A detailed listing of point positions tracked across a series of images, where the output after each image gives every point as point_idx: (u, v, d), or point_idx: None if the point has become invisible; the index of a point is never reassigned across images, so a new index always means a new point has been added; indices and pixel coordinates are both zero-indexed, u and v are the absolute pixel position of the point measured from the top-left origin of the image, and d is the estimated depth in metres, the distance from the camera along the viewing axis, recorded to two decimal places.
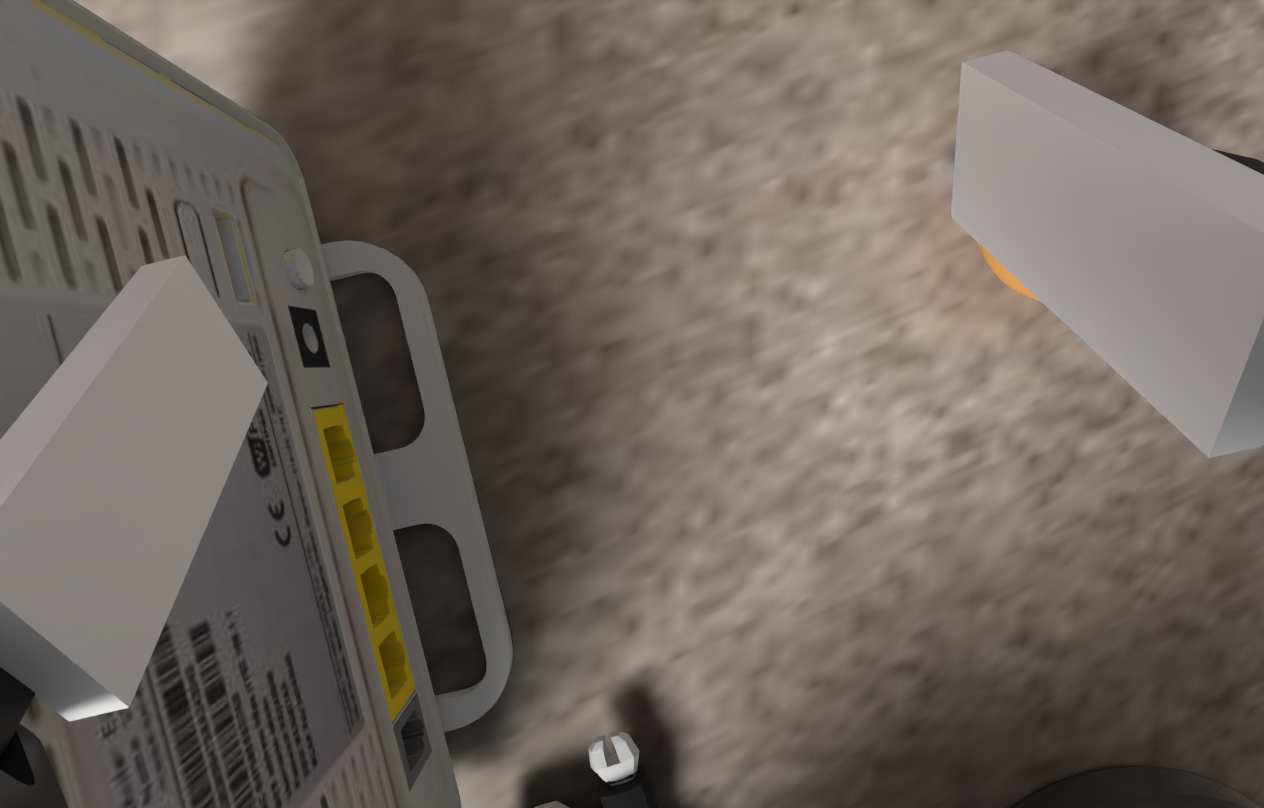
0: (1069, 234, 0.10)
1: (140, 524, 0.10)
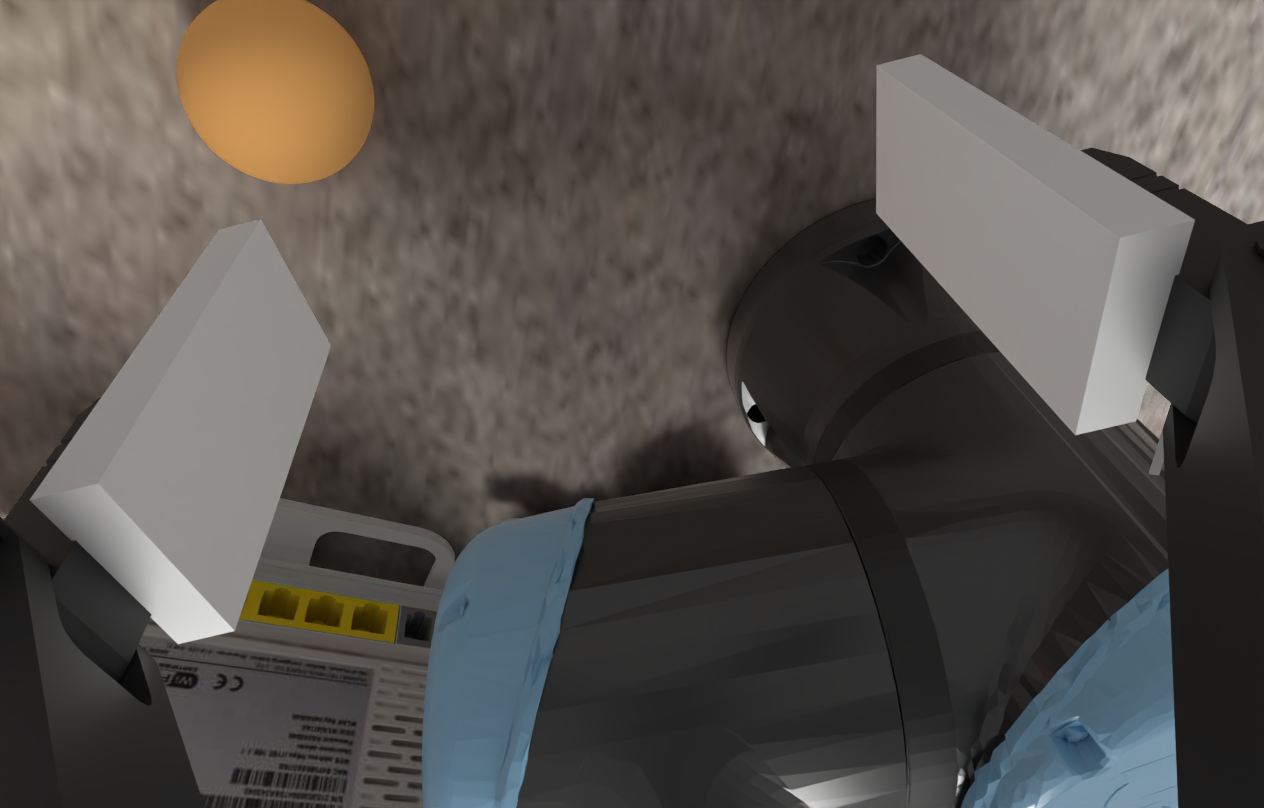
0: (964, 227, 0.11)
1: (236, 464, 0.10)
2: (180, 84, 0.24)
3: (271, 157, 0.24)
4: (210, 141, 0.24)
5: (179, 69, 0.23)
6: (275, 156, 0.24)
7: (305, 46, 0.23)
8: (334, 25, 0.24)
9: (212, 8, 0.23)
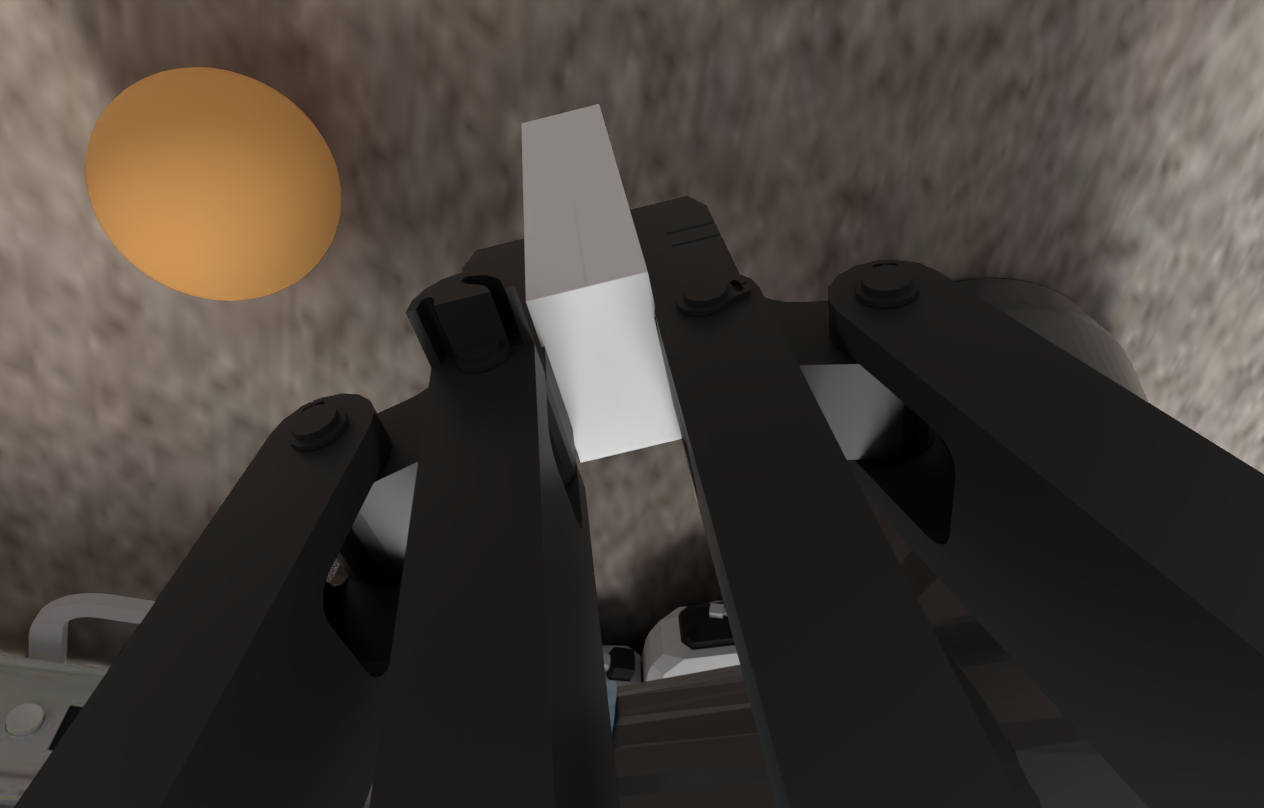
0: None
1: None
2: (88, 190, 0.19)
3: (206, 278, 0.19)
4: (129, 258, 0.19)
5: (86, 171, 0.18)
6: (211, 277, 0.19)
7: (246, 142, 0.18)
8: (286, 109, 0.19)
9: (127, 95, 0.18)
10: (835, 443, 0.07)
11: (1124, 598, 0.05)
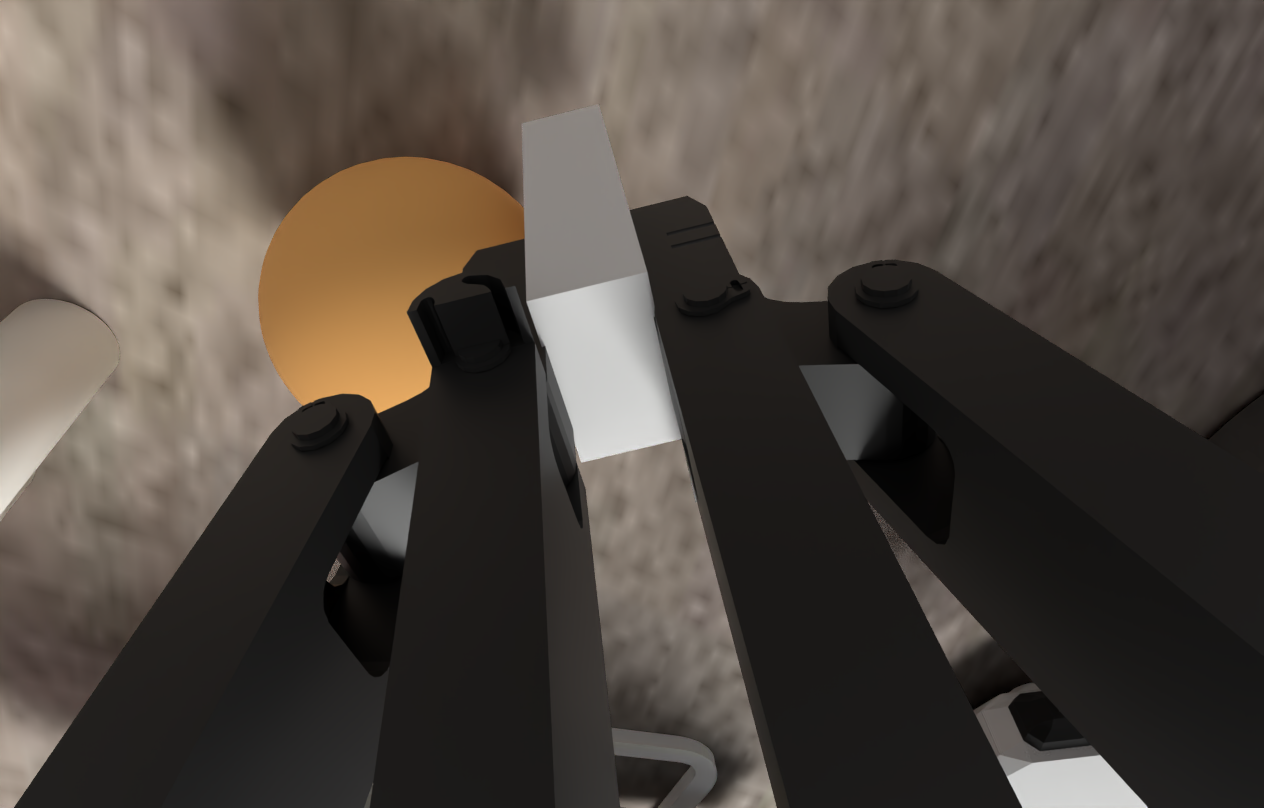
0: None
1: None
2: None
3: None
4: None
5: None
6: None
7: (277, 333, 0.14)
8: (356, 323, 0.13)
9: None
10: (834, 443, 0.07)
11: (1124, 598, 0.05)
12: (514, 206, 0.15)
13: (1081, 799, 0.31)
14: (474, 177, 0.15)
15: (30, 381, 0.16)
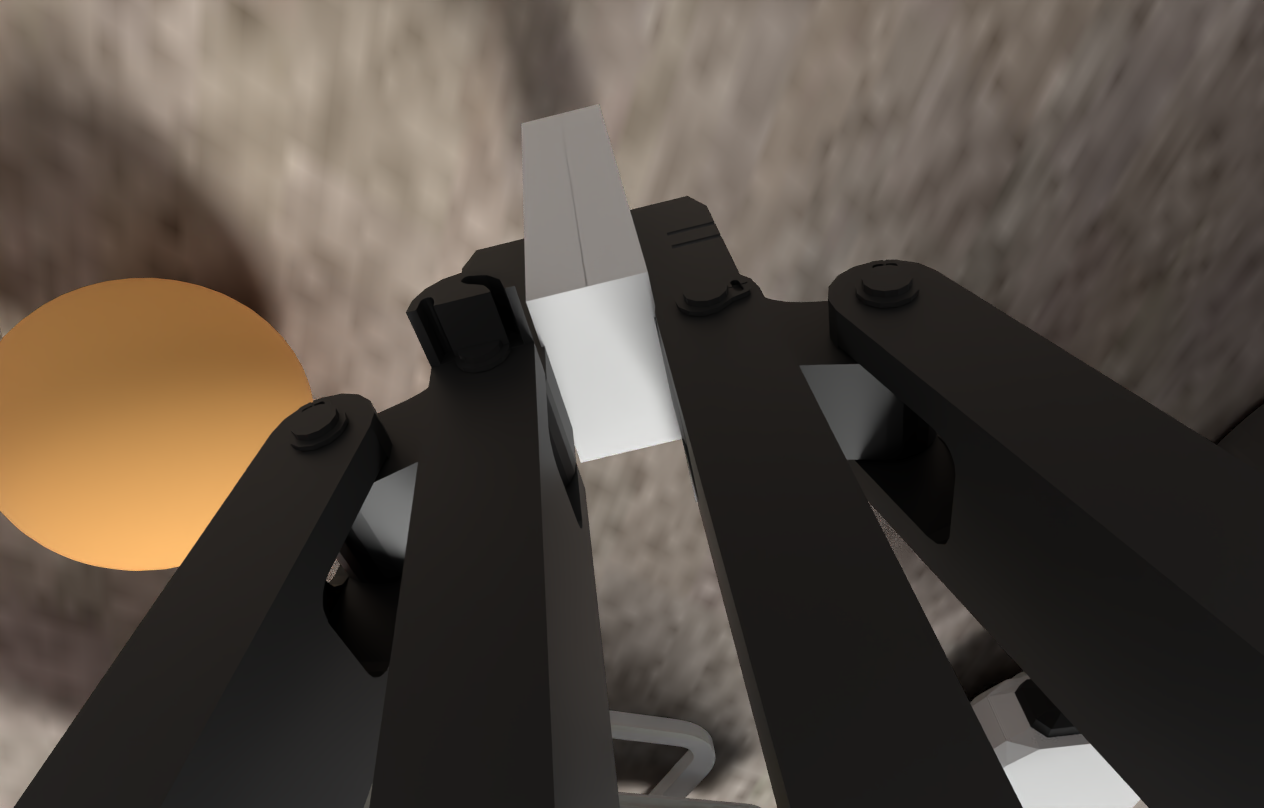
0: None
1: None
2: (195, 378, 0.14)
3: None
4: (282, 380, 0.15)
5: (167, 375, 0.13)
6: None
7: None
8: None
9: (39, 349, 0.13)
10: (834, 443, 0.07)
11: (1124, 598, 0.05)
12: (17, 527, 0.14)
13: (1082, 786, 0.31)
14: None
15: None
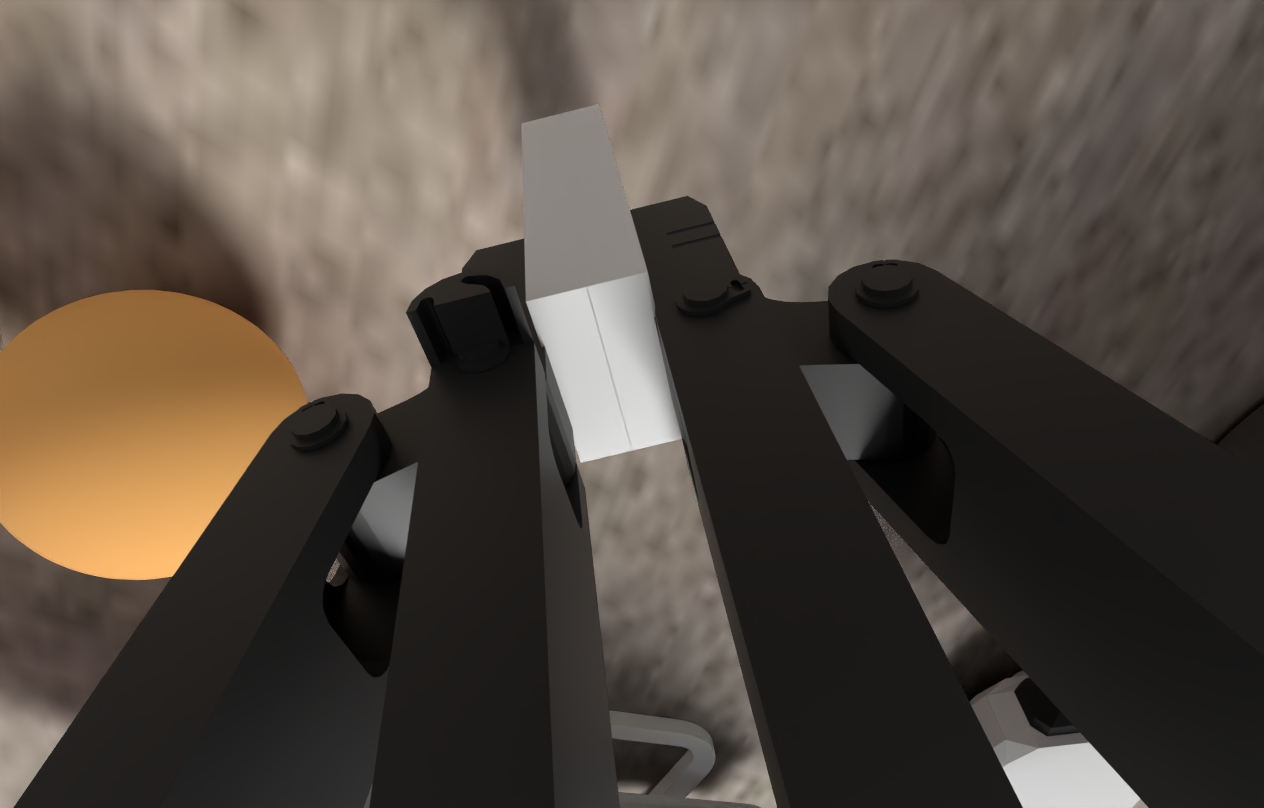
0: None
1: None
2: (185, 405, 0.14)
3: None
4: (275, 399, 0.15)
5: (157, 403, 0.13)
6: None
7: None
8: None
9: (31, 374, 0.13)
10: (834, 443, 0.07)
11: (1124, 598, 0.05)
12: None
13: (1083, 784, 0.31)
14: None
15: None
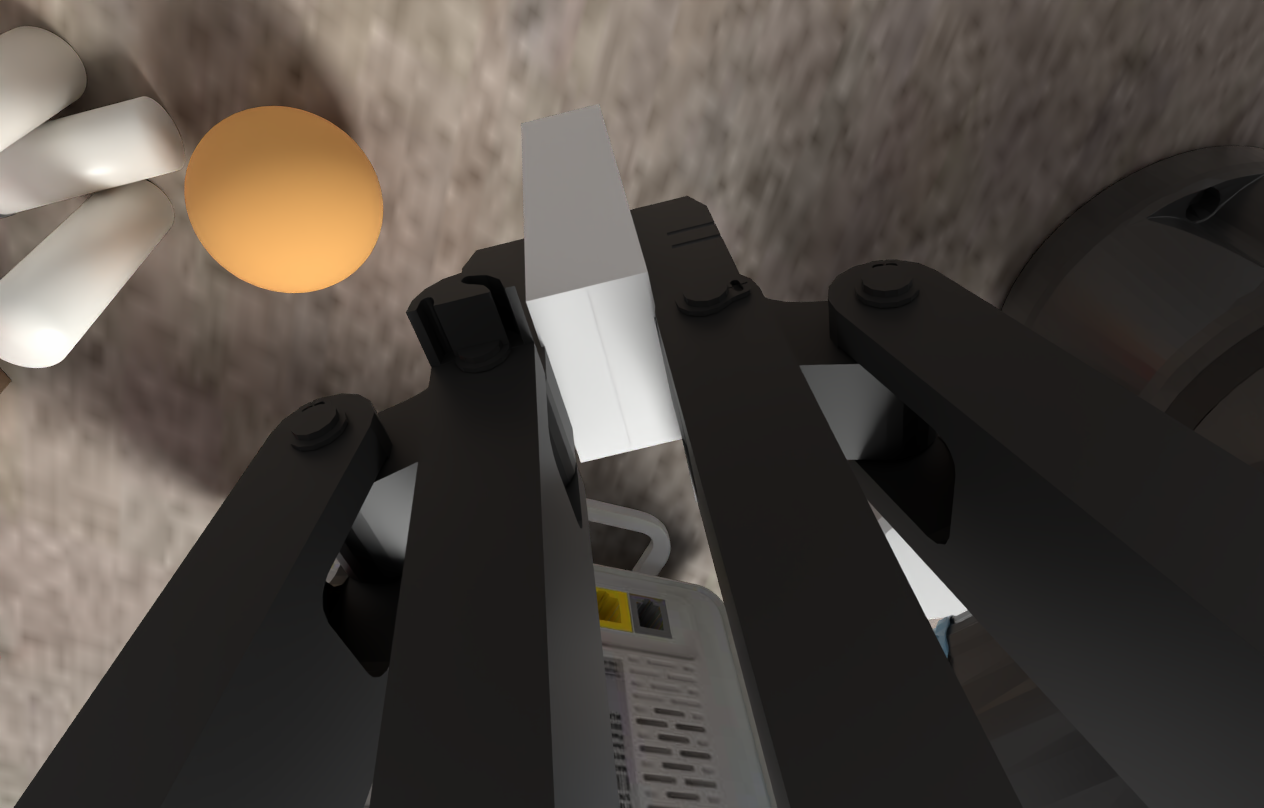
0: None
1: None
2: (318, 163, 0.23)
3: None
4: (365, 174, 0.25)
5: (303, 159, 0.23)
6: None
7: None
8: None
9: (231, 139, 0.23)
10: (834, 443, 0.07)
11: (1124, 598, 0.05)
12: (211, 253, 0.24)
13: None
14: (204, 231, 0.23)
15: (55, 155, 0.24)
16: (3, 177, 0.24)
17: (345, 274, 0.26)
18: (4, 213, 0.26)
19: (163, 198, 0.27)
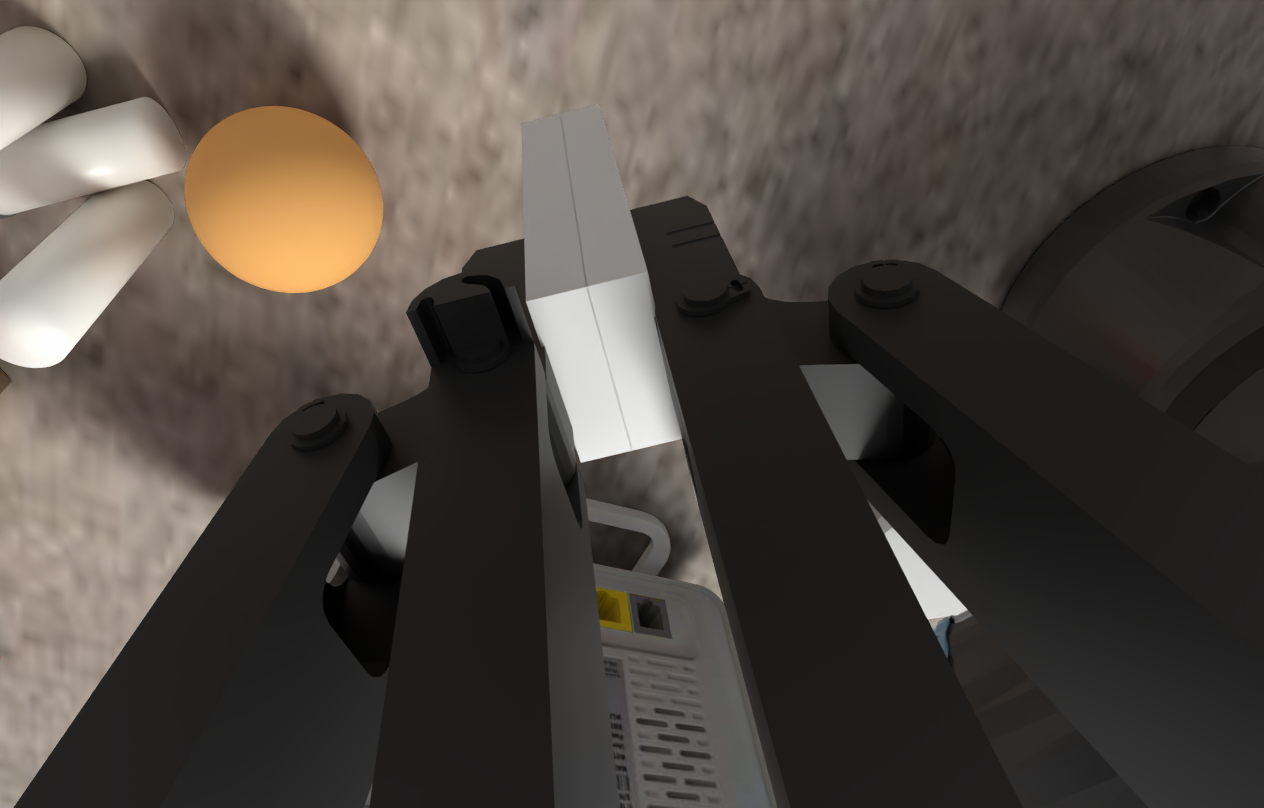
0: None
1: None
2: (318, 163, 0.23)
3: None
4: (365, 174, 0.25)
5: (303, 159, 0.23)
6: None
7: None
8: None
9: (231, 139, 0.23)
10: (836, 444, 0.07)
11: (1124, 598, 0.05)
12: (212, 253, 0.24)
13: None
14: (204, 231, 0.23)
15: (56, 156, 0.24)
16: (4, 178, 0.24)
17: (345, 274, 0.26)
18: (5, 213, 0.26)
19: (163, 198, 0.27)
